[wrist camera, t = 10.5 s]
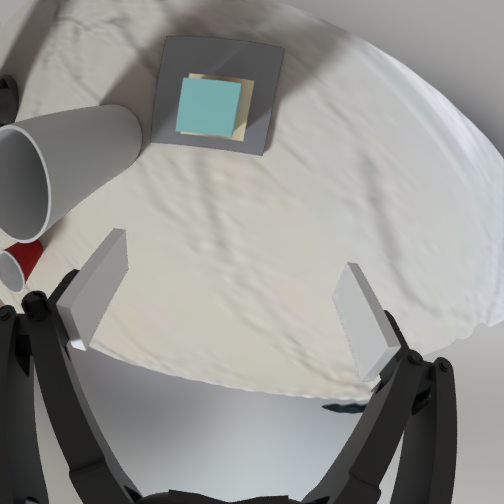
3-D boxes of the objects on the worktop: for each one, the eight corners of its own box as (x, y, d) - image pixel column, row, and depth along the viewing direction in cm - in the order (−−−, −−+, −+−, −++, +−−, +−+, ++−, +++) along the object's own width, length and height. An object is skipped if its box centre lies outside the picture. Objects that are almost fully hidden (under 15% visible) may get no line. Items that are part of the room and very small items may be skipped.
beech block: (190, 128, 32) (180, 133, 27) (198, 78, 29) (189, 73, 23) (243, 135, 33) (243, 141, 28) (253, 84, 29) (254, 80, 24)
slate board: (153, 141, 39) (150, 142, 38) (168, 38, 30) (166, 36, 29) (261, 154, 41) (262, 156, 40) (283, 50, 32) (284, 48, 31)
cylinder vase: (132, 181, 43) (50, 259, 22) (77, 162, 40) (-18, 221, 19) (153, 114, 37) (59, 138, 16) (93, 97, 34) (-17, 117, 13)
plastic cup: (51, 235, 48) (21, 264, 37) (50, 270, 53) (26, 301, 42) (20, 218, 45) (-11, 244, 35) (21, 253, 50) (-5, 281, 40)
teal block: (189, 125, 27) (175, 131, 21) (195, 82, 24) (183, 77, 19) (234, 130, 27) (231, 137, 22) (242, 87, 25) (241, 83, 19)
